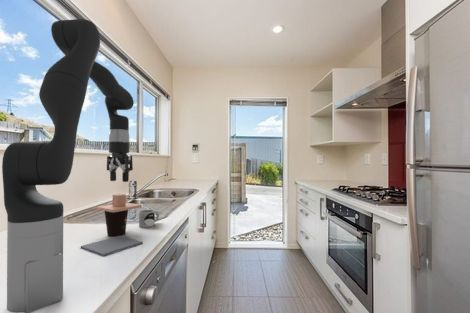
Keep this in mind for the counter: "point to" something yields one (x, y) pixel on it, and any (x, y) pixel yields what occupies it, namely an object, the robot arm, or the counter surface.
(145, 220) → the mug
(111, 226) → the coffee mug
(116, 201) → the lid
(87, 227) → the counter surface
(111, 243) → the mat
